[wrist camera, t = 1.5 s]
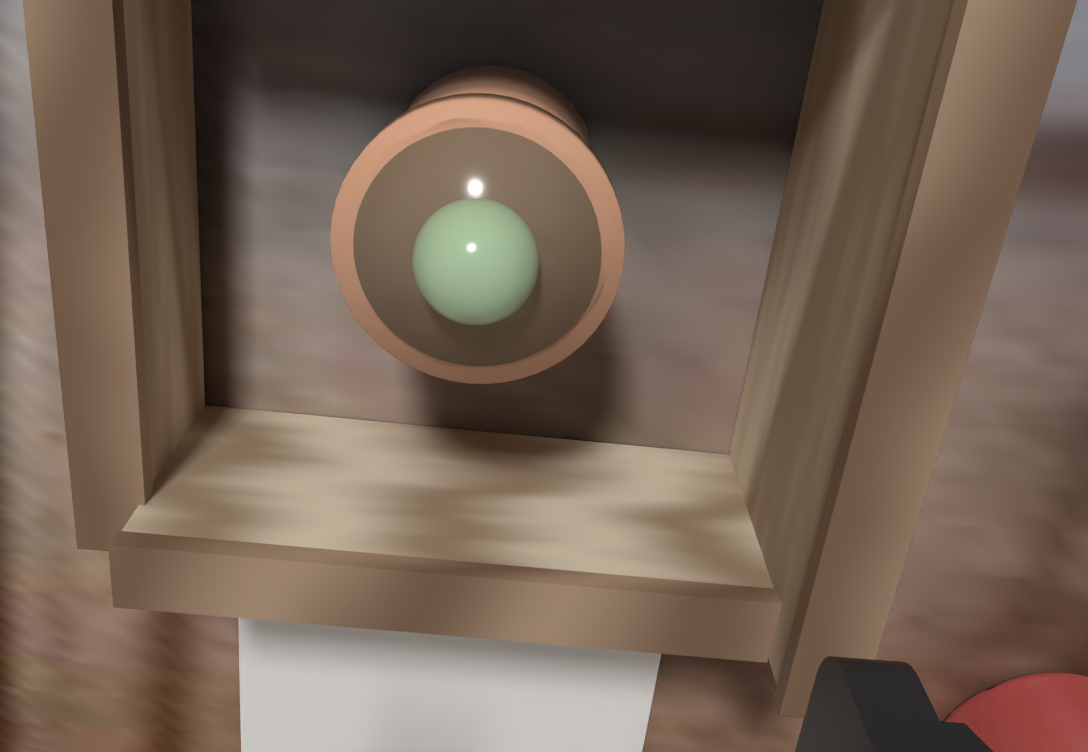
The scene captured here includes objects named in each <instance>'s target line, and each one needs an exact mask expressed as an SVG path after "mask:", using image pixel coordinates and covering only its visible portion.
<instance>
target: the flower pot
mask: <svg viewBox="0 0 1088 752" xmlns="http://www.w3.org/2000/svg"><path fill="white" fill-rule="evenodd" d="M944 722H956V723H965V724H966V725H967V726H968V727H969V728H970V729H971V730H972V731H973V732H974V733H975V734H976V735H977V736H978V737H979V738H980V739H981V740H982V741H983V742H984V743H985V744H986V745H987V746H988V747H989V748H990V749H991V750H992V751H993V752H1088V677H1087V676H1083V675H1078V674H1072V673H1041V674H1032V675H1026V676H1022V677H1018V678H1014V679H1011V680H1008V681H1005V682H1003V683H1001V684H999V685H997V686H995V687H994V688H992V689H989V690H986V691H983V692H981V693H978V694H977V695H975V696H973V697H972V698H970V699H969V700H967V701H966V702H964V703H963V704H962V705H961V706H959V707H958V708H957V709H956V710H955V711H953V712H952V713H951V714H950V715H949V717H948V718H947V719H946V720H945V721H944Z"/></svg>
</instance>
